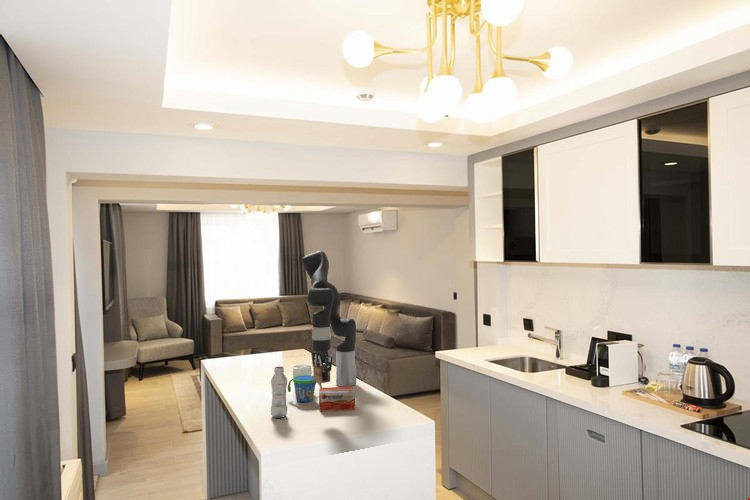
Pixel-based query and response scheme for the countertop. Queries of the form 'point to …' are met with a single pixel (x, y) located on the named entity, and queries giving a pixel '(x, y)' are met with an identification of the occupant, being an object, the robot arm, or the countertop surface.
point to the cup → (301, 370)
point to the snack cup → (304, 387)
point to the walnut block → (319, 374)
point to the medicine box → (336, 398)
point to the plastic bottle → (279, 393)
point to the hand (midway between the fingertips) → (321, 379)
